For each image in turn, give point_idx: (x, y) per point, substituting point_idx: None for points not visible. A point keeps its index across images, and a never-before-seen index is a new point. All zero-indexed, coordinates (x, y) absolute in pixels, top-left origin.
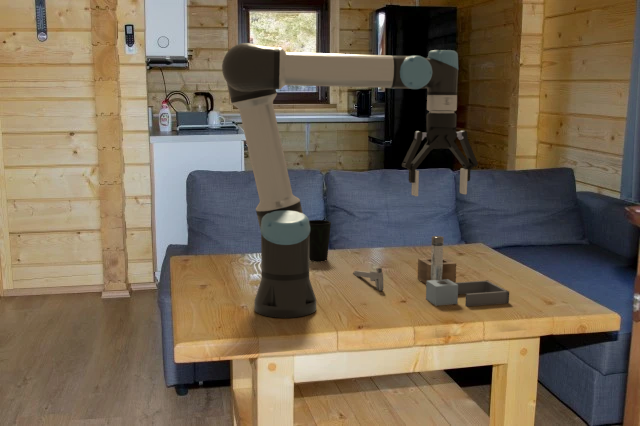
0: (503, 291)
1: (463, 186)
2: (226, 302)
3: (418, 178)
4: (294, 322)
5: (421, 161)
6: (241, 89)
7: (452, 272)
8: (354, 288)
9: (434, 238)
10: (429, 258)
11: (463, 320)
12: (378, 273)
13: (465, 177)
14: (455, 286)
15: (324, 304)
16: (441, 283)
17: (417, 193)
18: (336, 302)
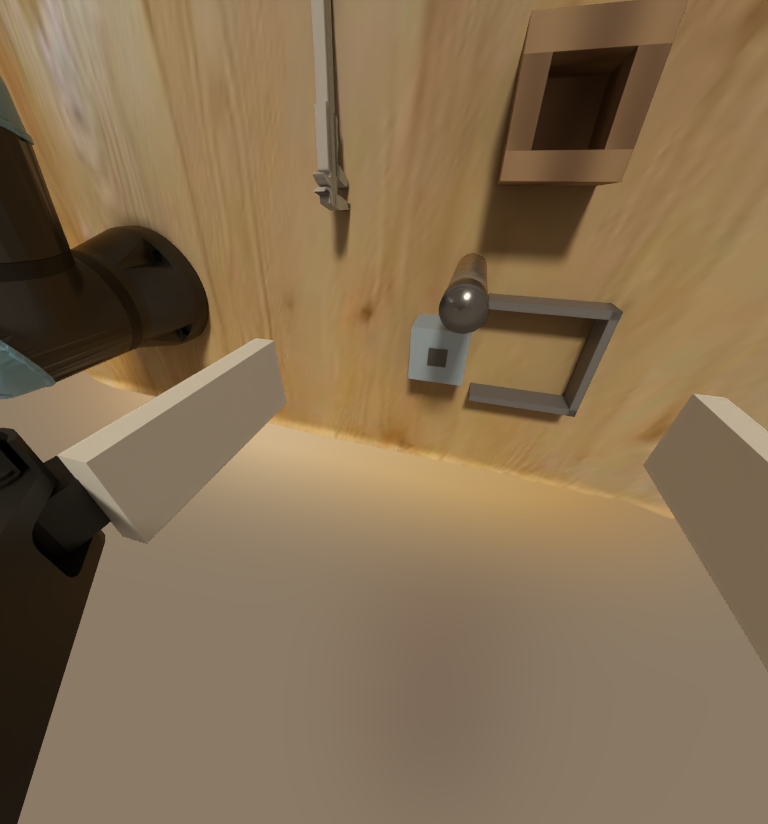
0: (562, 411)
1: (684, 503)
2: None
3: (205, 483)
4: (186, 357)
5: (56, 670)
6: None
7: (593, 183)
8: (285, 152)
9: (441, 321)
10: (588, 20)
11: (417, 441)
12: (320, 195)
13: (745, 614)
14: (454, 383)
15: (220, 280)
16: (430, 364)
17: (273, 410)
18: (240, 274)
